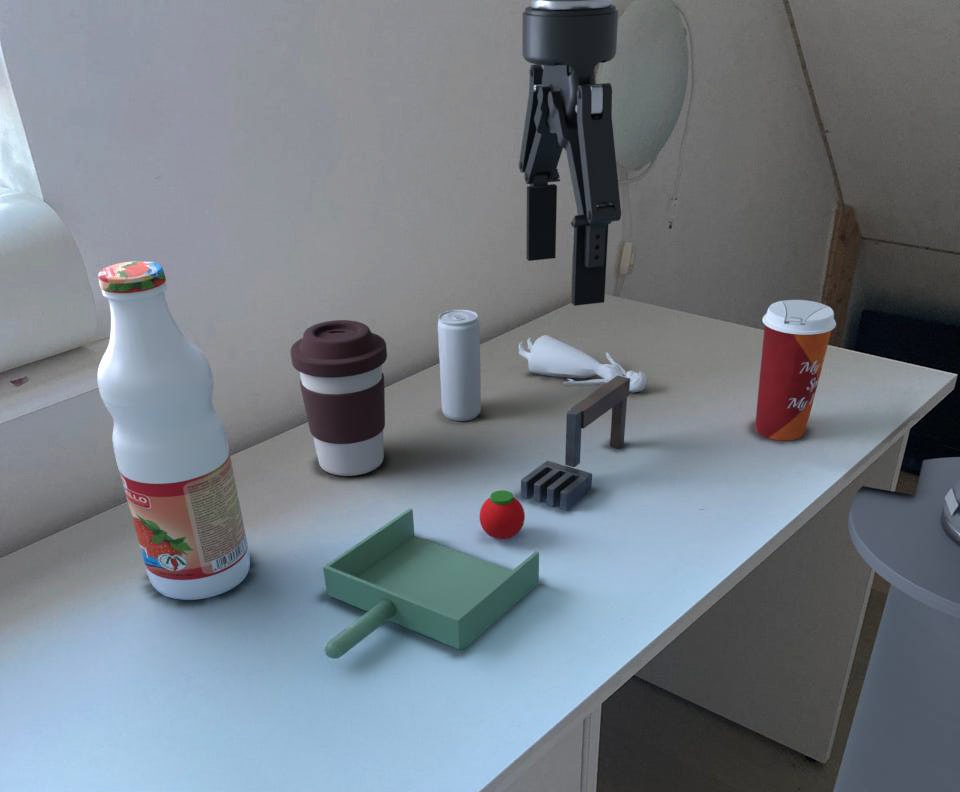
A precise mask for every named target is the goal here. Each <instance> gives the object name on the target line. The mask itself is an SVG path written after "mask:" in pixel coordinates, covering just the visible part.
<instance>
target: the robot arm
mask: <svg viewBox="0 0 960 792" xmlns="http://www.w3.org/2000/svg"><path fill="white" fill-rule="evenodd" d="M618 26H619V10H618V9H617V6H616V5H614V4H613V0H530V6H527V7H525V9H524V11H523V12H522V39H521V40H522V42H521V43H522V46H521V47H522V50H521V51H522V58H523V59H524V61H526V62H527V63H529V64H531V65H530V68H529V70H528V73H529V74H528V75H529V83H528V84H529V85H528V87H529V89H528V98H527V104H526V111H525V118H524V119H525V120H524V126H523V133H522V142H521V147H520V154H519V161H518V169H519V172H520V173H523V175H524V176H523V179H524V182H525V185H529V186H526V253H525V254H526V257H525V259H526V260H527V261H528V262H533V261H541V260H542V261H543V260H552V259H556V250H557V249H556V247H557V212H558V211H557V208H558V207H557V204H558V203H557V202H558V185H557V184H555V183H557V182H561V179H560V178H561V177H560V172H559V168H558V165H559V162H560V159H561V155H562V153H563V149H564V150H565V153H566V158H567V165H568V169H569V174H570V179H571V184H572V191H573V195H574V200H575V207H576V209H577V215H574V217H573V218H572V220H571V222H570V225H571V228H573V246H572V247H573V250H572V279H571V280H572V282H571V284H572V285H571V304H572V305H573V306H584V305H595V304H602V303H605V295H606V278H607V276H606V275H607V257H608V241H609V240H608V239H609V225H611V224H612V223H613V222H619V221H620V220H621V219H622V208H621V198H620V197H621V196H620V188H619V187H620V186H619V178H618V168H617V158H616V157H617V156H616V147H615V138H614V127H613V126H614V125H613V112H612V111H613V88H612V87H613V86H612V84H611V83H610V82H606V83H605V82H604V83H596V72H595V70H596V67H597V66H598V65H599V64H600V63H602V64H603V63H604V64H605V63H607V62H610V61H612V60H613V59H614V58H615V56H616V54H617V46H618V45H617V43H618ZM549 183H550V184H549ZM551 183H552V184H551ZM945 500H946V501H945V504H944V507H943V510H942V514H941V520H940V521H941V525H942V528H943V530H944V532H945V533H946V534H947V536H948V537H949V538H950V539H951V540H952V541H953V542H954V543H956V544H957V545H958V546H960V480H959V481H958V482H957V484H956V485H955V486H954V488H953V489H952V488H951V489H950V491H949V492H948V493H947V495H946V496H945Z"/></svg>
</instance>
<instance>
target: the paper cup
mask: <svg viewBox="0 0 960 792" xmlns="http://www.w3.org/2000/svg"><path fill="white" fill-rule="evenodd" d="M761 321H762V323H763V324H764V329H763V338H762V340H763V341H762V347H761V348H762V349H761V360H760V370H759V379H758V380H759V382H758V389H757V401H756V413H755V431H756V433H757V434H758V435H760V436H762V437H763V438H766V439H769V440H774V441H780V442H781V441H782V442H783V441H785V442H786V441H787V442H788V441H794V440H798V439H800V438H802V437H803V436H804V435H805V433H806V429H807V426H808V422H809V419H810V416H811V412H812V407H813V403H814V400H815V397H816V392H817V389H818V386H819V381H820V378H821V373H822V369H823V365H824V361H825V358H826V353H827V351H828V346H829V342H830V339H831V335H832V331H833V329H835V328H836V327H837V322H836V320H835V312H834V310H833V308H831V306H829V305H827V304H824V303H820V302H818V301H812V300H806V299H785V300H778V301H776V302H773V303H771V304H770V305H769V306H768V308H767V311H766V313H765V314H764V315H763V316H762V320H761Z"/></svg>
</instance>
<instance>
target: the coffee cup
mask: <svg viewBox="0 0 960 792" xmlns="http://www.w3.org/2000/svg"><path fill="white" fill-rule="evenodd" d="M387 350H388V347H387V342H386V340H385V338H383V337H382V336H380V335H379V334H377V333H375V332H372V331H371V329H370V327H369V326H368V325H367V324H366V323H363V322H361V321H356V320H350V319H349V320H348V319H336V320H327V321H323V322H318V323H315V324H313V325H311V326H309V327H307V329H305V331H304V332H303V334H302V337H301V338H300V339H298V340H296V341H295V342H294V343H293V344H292V345H291V347H290V352H289V353H290V360H291V365H292V366H293V368H294V369H295V370H296V371H298V372H299V376H300V380H299V387H300V392H301V396H302V401H303V406H304V409H305V413H306V418H307V424H308V428H309V431H310V434H311V436H312V438H313V442H314V447H315V452H316V456H317V461H318V464H319V466H320V468H321V469H322V470H324V472H326V473H329V474H330V475H333V476H341V477H354V476H361V475H365V474H367V473H371V472H372V471H374V470H376V469H377V468H379V467H380V466H381V465H382V463H383V461H384V459H385V458H384V457H385V449H384V447H385V445H384V429H385V426H386V404H385V403H386V400H385V395H386V394H385V375H384V373H383V364H385V363H386V361H387V359H388V351H387Z"/></svg>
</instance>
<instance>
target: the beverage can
mask: <svg viewBox="0 0 960 792" xmlns="http://www.w3.org/2000/svg"><path fill="white" fill-rule="evenodd" d="M480 330H481V329H480V320H479V314H478V312H475V311H473V310H469V309H450V310H446V311H444V312H441V313H440V314H438V321H437V335H438V336H437V339H438V357H439V378H440V396H441V397H440V398H441V399H440V400H441V412H442V413H443V415H444V416H445V418H447V419H449V420H451V421H456V422H467V421H471V420H474V419H476V418H477V417H478V416H479V414H480V413H481V411H482V387H481V386H482V385H481V380H482V379H481V377H482V376H481V335H480V332H481V331H480Z"/></svg>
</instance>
